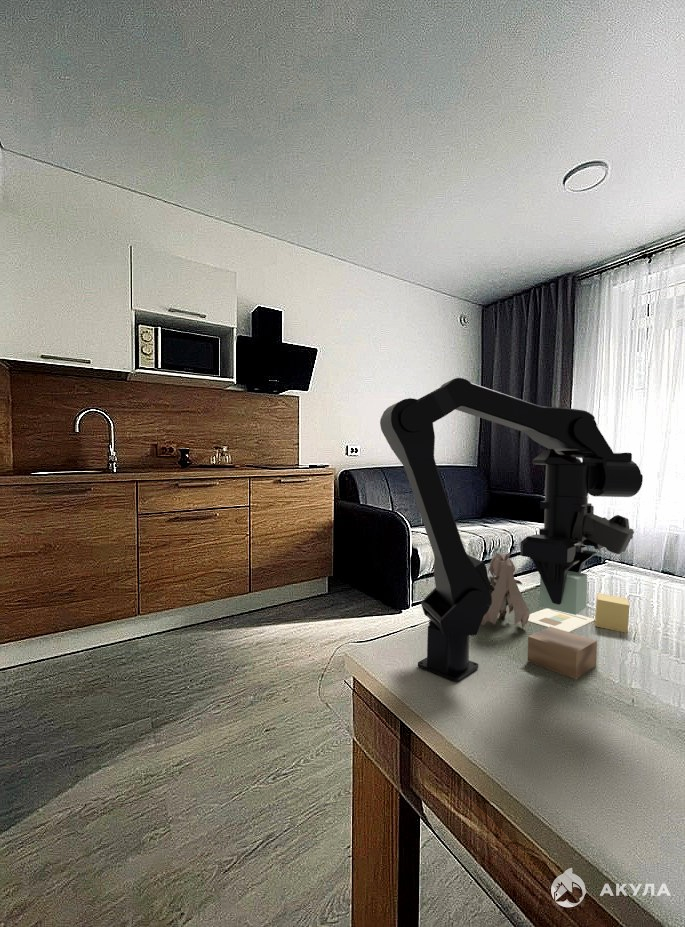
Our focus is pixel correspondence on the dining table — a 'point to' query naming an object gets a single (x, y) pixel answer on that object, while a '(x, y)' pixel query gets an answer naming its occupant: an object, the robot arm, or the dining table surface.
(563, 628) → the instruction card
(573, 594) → the pale green cube
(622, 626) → the brick
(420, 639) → the dining table surface
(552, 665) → the base block
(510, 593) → the toy
